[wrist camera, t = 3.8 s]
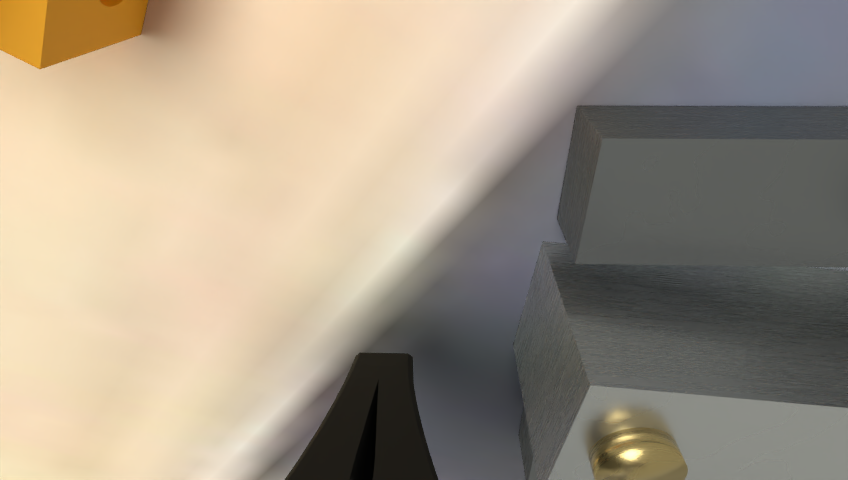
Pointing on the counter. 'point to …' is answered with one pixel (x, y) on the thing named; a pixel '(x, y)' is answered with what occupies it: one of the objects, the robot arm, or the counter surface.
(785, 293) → the block with brass knobs
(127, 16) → the pipe clamp
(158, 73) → the counter surface
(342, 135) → the counter surface
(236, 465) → the counter surface
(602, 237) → the chain end
